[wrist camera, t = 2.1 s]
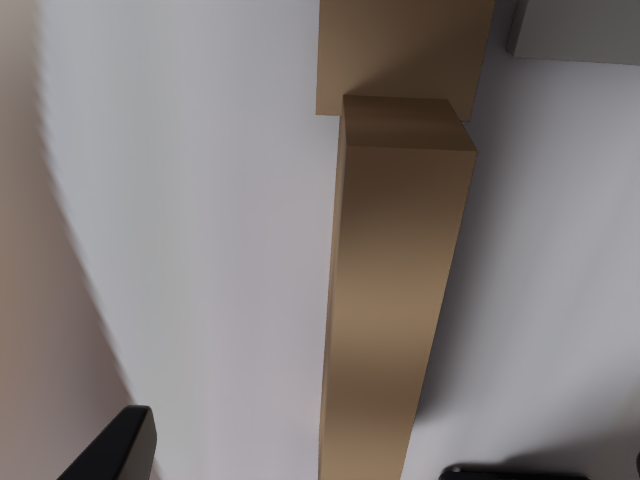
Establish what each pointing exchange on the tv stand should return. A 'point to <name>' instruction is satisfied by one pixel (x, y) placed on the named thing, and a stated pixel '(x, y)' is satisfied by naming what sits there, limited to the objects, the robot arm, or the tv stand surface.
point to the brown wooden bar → (391, 211)
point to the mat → (577, 31)
